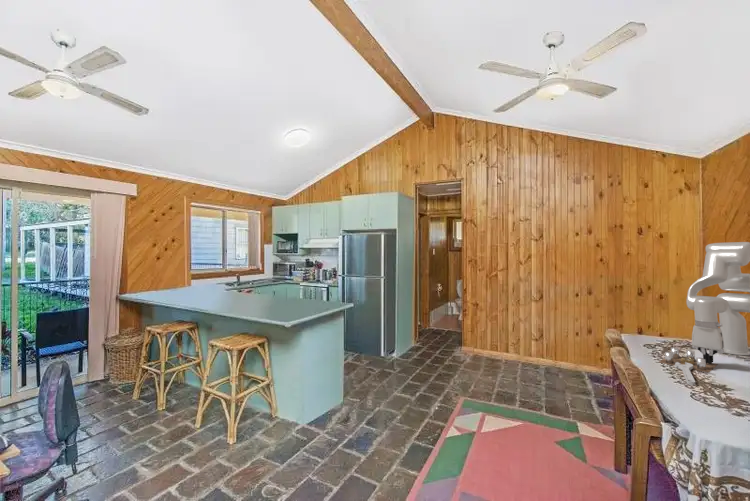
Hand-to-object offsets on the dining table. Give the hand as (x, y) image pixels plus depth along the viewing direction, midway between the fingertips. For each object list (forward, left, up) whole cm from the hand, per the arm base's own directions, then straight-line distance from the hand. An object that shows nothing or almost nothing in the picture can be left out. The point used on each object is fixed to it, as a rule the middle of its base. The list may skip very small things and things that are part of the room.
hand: (708, 362), depth 150 cm
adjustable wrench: (+17, -4, -3) cm, 17 cm away
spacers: (0, -7, -3) cm, 8 cm away
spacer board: (0, -7, -3) cm, 8 cm away
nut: (0, -7, -2) cm, 8 cm away
